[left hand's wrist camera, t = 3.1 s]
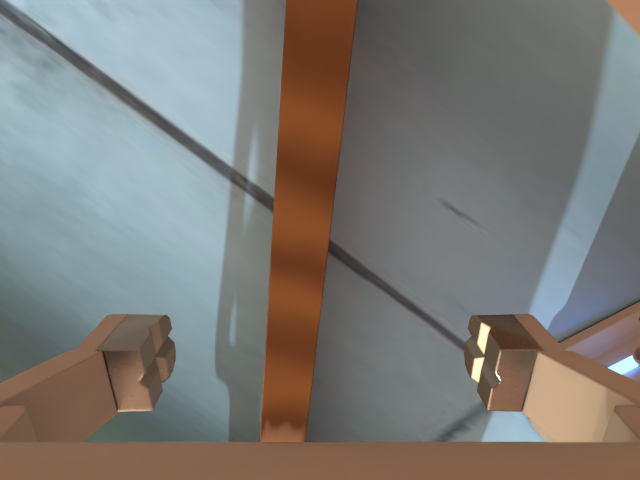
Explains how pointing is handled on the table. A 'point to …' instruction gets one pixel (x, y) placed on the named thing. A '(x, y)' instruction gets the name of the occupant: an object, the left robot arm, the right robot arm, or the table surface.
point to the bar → (303, 204)
